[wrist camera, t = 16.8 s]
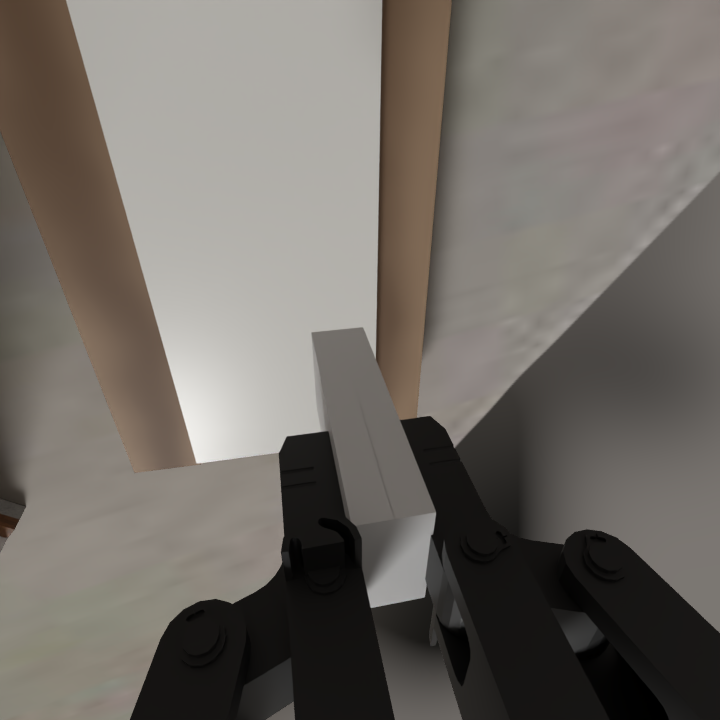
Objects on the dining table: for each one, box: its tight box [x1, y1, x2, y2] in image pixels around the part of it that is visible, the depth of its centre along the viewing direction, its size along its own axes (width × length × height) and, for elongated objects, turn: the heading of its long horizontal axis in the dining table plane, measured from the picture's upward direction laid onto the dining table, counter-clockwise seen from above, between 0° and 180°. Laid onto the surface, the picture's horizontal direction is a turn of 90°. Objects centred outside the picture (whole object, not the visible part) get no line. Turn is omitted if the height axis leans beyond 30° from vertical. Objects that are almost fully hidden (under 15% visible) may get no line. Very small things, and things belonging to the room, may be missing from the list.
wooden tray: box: [0, 0, 452, 473], centre depth 25 cm, size 18×28×5 cm, turn 0°
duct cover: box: [66, 0, 382, 463], centre depth 22 cm, size 11×26×1 cm, turn 0°
